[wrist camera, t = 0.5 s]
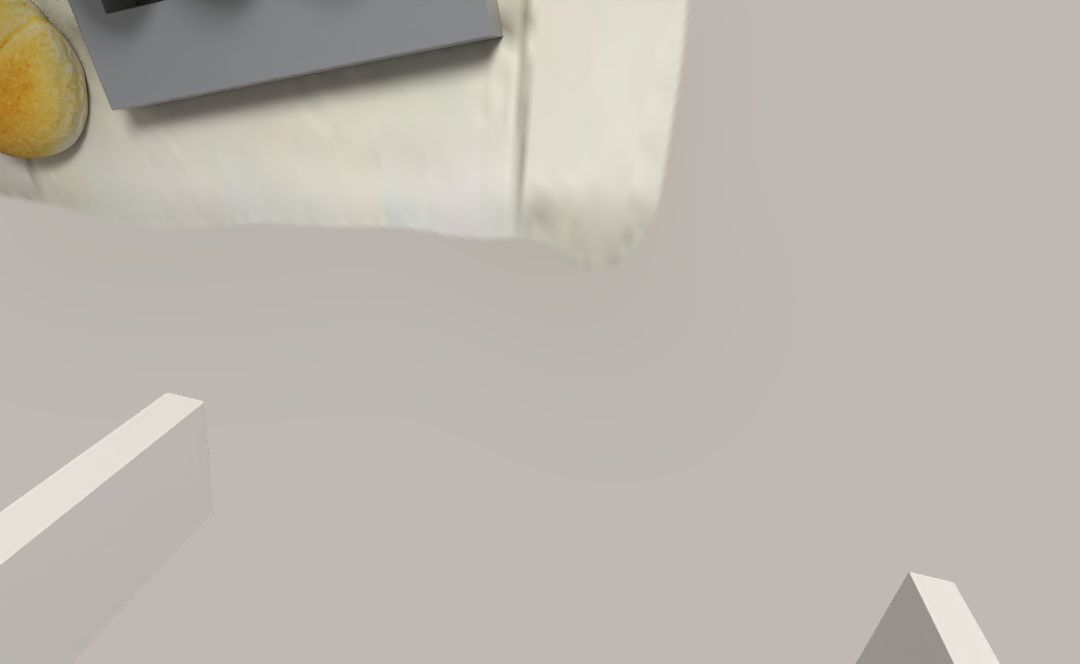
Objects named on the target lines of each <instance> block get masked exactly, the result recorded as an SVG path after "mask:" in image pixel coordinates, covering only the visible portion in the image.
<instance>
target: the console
mask: <svg viewBox="0 0 1080 664" xmlns="http://www.w3.org/2000/svg"><path fill="white" fill-rule="evenodd" d="M68 1H69V3H70V6H71V8H72V11H73V13H74V16H75V19H76V21H77V24H78V26H79V29H80V31H81V34H82V36H83V39H84V41H85V44H86V46H87V49H88V51H89V54H90V56H91V59H92V61H93V64H94V66H95V69H96V71H97V74H98V76H99V79H100V81H101V84H102V86H103V89H104V91H105V94H106V96H107V99H108V101H109V104H110V106H111V109H112V110H120V109H130V108H140V107H147V106H153V105H158V104H163V103H168V102H173V101H178V100H183V99H188V98H193V97H198V96H203V95H208V94H213V93H218V92H224V91H229V90H234V89H239V88H244V87H249V86H254V85H259V84H264V83H269V82H274V81H279V80H284V79H290V78H295V77H300V76H305V75H310V74H315V73H320V72H325V71H330V70H335V69H340V68H345V67H350V66H356V65H361V64H366V63H371V62H376V61H381V60H386V59H391V58H396V57H401V56H406V55H411V54H416V53H421V52H427V51H432V50H437V49H442V48H447V47H452V46H457V45H462V44H467V43H472V42H477V41H482V40H487V39H493V38H498V37H503V33H502V28H501V22H500V16H499V10H498V4H497V0H164V1H160V2H156V3H152V4H147V5H143V6H139V7H138V6H137V4H136V1H135V0H68Z"/></svg>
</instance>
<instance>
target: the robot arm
mask: <svg viewBox="0 0 1080 664" xmlns="http://www.w3.org/2000/svg"><path fill="white" fill-rule="evenodd" d="M212 513H213V507H212V493H211V480H210V465H209V452H208V439H207V424H206V410H205V402H204V401H200V400H196V399H192V398H188V397H184V396H180V395H175V394H171V393H166V394H164V395H163V396H162V397H160V398H159V399H157V400H156V401H155V402H153V403H152V404H150V405H149V406H148V407H146V408H145V409H143V410H142V411H141V412H139V413H138V414H137V415H135V416H134V417H132V418H131V419H130V420H128V421H127V422H126V423H124V424H123V425H121V426H120V427H118V428H117V429H116V430H115V431H113V432H111V433H110V434H109V435H107V436H106V437H105V438H103V439H102V440H100V441H99V442H97V443H96V444H95V445H93V446H92V447H91V448H89V449H88V450H86V451H85V452H84V453H82V454H81V455H79V456H78V457H77V458H75V459H74V460H72V461H71V462H70V463H68V464H67V465H65V466H64V467H63V468H61V469H60V470H59V471H57V472H56V473H54V474H53V475H52V476H50V477H49V478H47V479H46V480H45V481H43V482H42V483H40V484H39V485H38V486H36V487H35V488H33V489H32V490H31V491H29V492H28V493H26V494H25V495H24V496H22V497H21V498H19V499H18V500H17V501H15V502H14V503H13V504H11V505H10V506H8V507H7V508H6V509H4V510H3V511H1V512H0V664H72V663H73V662H74V661H75V660H76V659H77V658H78V656H79V655H80V654H81V653H82V652H83V651H84V650H85V649H86V648H87V647H88V646H89V645H90V644H91V642H92V641H93V640H94V639H95V638H96V637H97V636H98V635H99V634H100V633H101V632H102V631H103V630H104V629H105V628H106V627H107V626H108V624H109V623H110V622H111V621H112V620H113V619H114V618H115V617H116V616H117V615H118V614H119V613H120V612H121V611H122V610H123V608H124V607H125V606H126V605H127V604H128V603H129V602H130V601H131V600H132V599H133V598H134V597H135V595H137V593H138V592H139V591H140V590H141V589H142V588H143V587H144V586H145V585H146V584H147V583H148V582H149V581H150V579H152V577H153V576H154V575H155V574H156V573H157V572H158V571H159V570H160V569H161V568H162V567H163V566H164V565H165V564H166V562H167V561H168V560H169V559H170V558H171V557H172V556H173V555H174V554H175V553H176V552H177V551H178V550H179V549H180V547H181V546H182V545H183V544H184V543H185V542H186V541H187V540H188V539H189V538H190V537H191V536H192V535H193V534H194V533H195V532H196V530H197V529H198V528H199V527H200V526H201V525H202V524H203V523H204V522H205V521H206V520H207V519H208V518H209V517H210V516H211V514H212ZM856 664H1000V663H999V662H998V660H997V658H996V656H995V655H994V653H993V651H992V649H991V648H990V646H989V644H988V642H987V641H986V639H985V637H984V635H983V633H982V632H981V630H980V628H979V626H978V624H977V623H976V621H975V619H974V617H973V616H972V614H971V612H970V610H969V609H968V607H967V605H966V603H965V601H964V600H963V598H962V596H961V594H960V593H959V591H958V589H957V587H956V586H955V584H954V583H953V582H949V581H945V580H941V579H937V578H933V577H929V576H925V575H920V574H916V573H912V572H909V573H908V575H907V576H906V578H905V580H904V581H903V583H902V585H901V587H900V588H899V590H898V592H897V593H896V595H895V597H894V599H893V600H892V602H891V604H890V606H889V607H888V609H887V611H886V613H885V614H884V616H883V618H882V619H881V621H880V623H879V625H878V627H877V628H876V630H875V631H874V633H873V635H872V637H871V639H870V640H869V642H868V644H867V645H866V647H865V649H864V650H863V652H862V654H861V656H860V657H859V659H858V661H857V663H856Z"/></svg>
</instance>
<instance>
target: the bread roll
mask: <svg viewBox="0 0 1080 664" xmlns="http://www.w3.org/2000/svg"><path fill="white" fill-rule="evenodd" d="M87 114H88V108H87V90H86V81H85V75H84V70H83V67H82V65H81V63H80V61H79V59H78V56H77V54H76V53H75V51H74V49H73V47H72V46H71V45H70V43H69V42H68V40H67V39H66V38H65V36H64V35H63V34H62V33H61V32H60V31H59V30H58V29H57V28H56V27H55V26H53V25H52V24H51V23H50V22H49V21H47V20H46V18H45V16H44V14H43V13H42V12H41V11H40V9H39V8H38V7H37V6H36V5H35V4H34V3H33V2H31V1H30V0H0V152H1V153H4V154H6V155H10V156H13V157H19V158H29V159H32V158H40V157H46V156H51V155H55V154H58V153H60V152H63V151H65V150H67V149H68V148H69V147H70V146H72V145H73V144H74V143H75V142H76V141H77V139H78V138H79V136H80V135H81V133H82V130H83V128H84V125H85V122H86V119H87Z"/></svg>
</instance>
